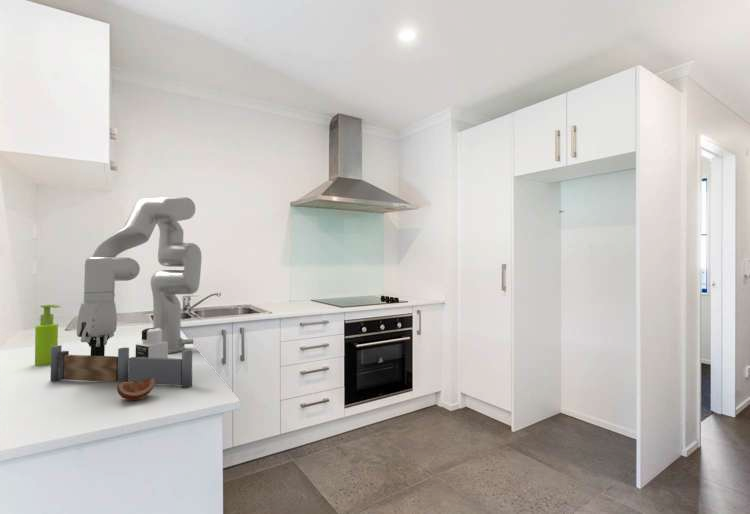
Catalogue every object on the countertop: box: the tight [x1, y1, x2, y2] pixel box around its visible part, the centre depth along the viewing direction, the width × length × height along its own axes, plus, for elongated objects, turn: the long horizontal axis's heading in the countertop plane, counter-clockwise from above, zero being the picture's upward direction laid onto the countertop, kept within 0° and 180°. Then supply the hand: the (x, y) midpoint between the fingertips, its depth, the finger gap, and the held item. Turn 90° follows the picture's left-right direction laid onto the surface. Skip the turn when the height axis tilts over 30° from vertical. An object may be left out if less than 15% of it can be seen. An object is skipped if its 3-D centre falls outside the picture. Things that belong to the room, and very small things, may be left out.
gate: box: [58, 350, 118, 383], centre depth 112 cm, size 18×2×8 cm, turn 83°
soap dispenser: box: [34, 304, 61, 367], centre depth 133 cm, size 6×7×20 cm
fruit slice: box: [116, 378, 156, 401], centre depth 98 cm, size 8×7×5 cm
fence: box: [49, 344, 193, 389], centre depth 111 cm, size 44×3×10 cm, turn 83°
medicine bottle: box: [135, 327, 169, 358], centre depth 133 cm, size 7×7×12 cm
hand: (97, 359), depth 116 cm, fingers closed
